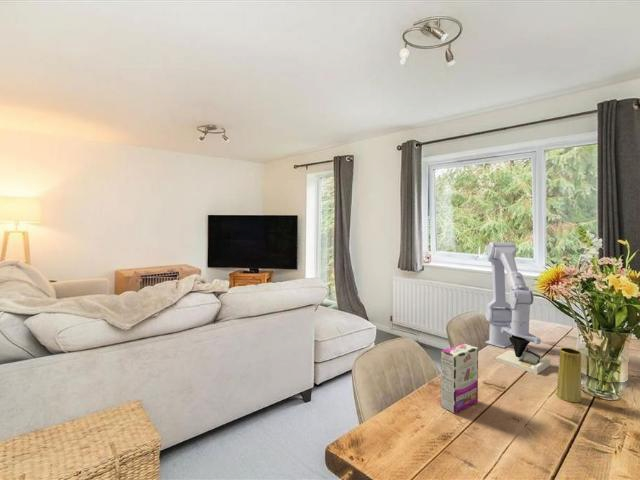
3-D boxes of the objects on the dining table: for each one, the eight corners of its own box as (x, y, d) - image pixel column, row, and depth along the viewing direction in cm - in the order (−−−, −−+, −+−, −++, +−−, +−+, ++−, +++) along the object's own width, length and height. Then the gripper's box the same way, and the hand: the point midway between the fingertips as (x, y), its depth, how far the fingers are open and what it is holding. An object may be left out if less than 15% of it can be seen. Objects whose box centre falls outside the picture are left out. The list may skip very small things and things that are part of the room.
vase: (572, 392, 105) (574, 347, 104) (586, 403, 99) (588, 355, 98) (551, 391, 105) (553, 346, 105) (564, 402, 99) (565, 354, 98)
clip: (523, 356, 129) (528, 346, 127) (537, 365, 125) (542, 354, 124) (519, 359, 126) (524, 348, 125) (533, 368, 123) (539, 356, 121)
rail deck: (509, 353, 136) (509, 347, 136) (549, 365, 125) (550, 358, 125) (495, 361, 129) (495, 354, 128) (537, 374, 118) (537, 367, 117)
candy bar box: (462, 395, 103) (464, 342, 102) (478, 403, 99) (479, 347, 98) (439, 406, 97) (440, 350, 96) (454, 415, 92) (455, 355, 92)
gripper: (546, 325, 122) (545, 362, 122) (510, 315, 135) (509, 348, 136) (533, 327, 119) (532, 365, 120) (497, 316, 132) (496, 351, 133)
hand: (519, 356), depth 128 cm, fingers closed
